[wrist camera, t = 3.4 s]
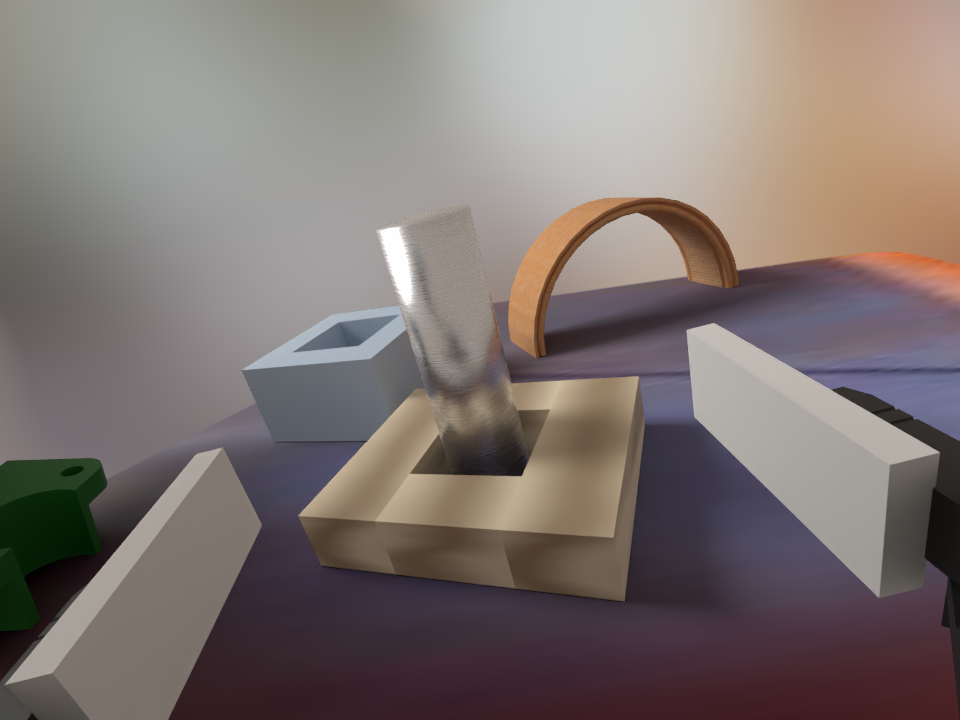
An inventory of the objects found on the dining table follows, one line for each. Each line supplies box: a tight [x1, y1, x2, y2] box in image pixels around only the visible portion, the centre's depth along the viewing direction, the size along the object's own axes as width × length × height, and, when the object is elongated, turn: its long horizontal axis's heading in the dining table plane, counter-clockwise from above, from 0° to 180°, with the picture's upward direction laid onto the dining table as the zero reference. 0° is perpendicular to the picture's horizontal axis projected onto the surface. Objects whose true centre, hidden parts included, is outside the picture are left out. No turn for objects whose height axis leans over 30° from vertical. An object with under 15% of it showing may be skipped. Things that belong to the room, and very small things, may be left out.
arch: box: [508, 198, 739, 359], centre depth 43 cm, size 6×20×10 cm, turn 107°
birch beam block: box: [298, 376, 645, 601], centre depth 26 cm, size 14×12×3 cm
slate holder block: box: [242, 306, 425, 442], centre depth 39 cm, size 11×11×6 cm
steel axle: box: [376, 205, 529, 476], centre depth 24 cm, size 4×4×14 cm
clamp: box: [0, 458, 107, 631], centre depth 27 cm, size 12×6×9 cm, turn 176°
